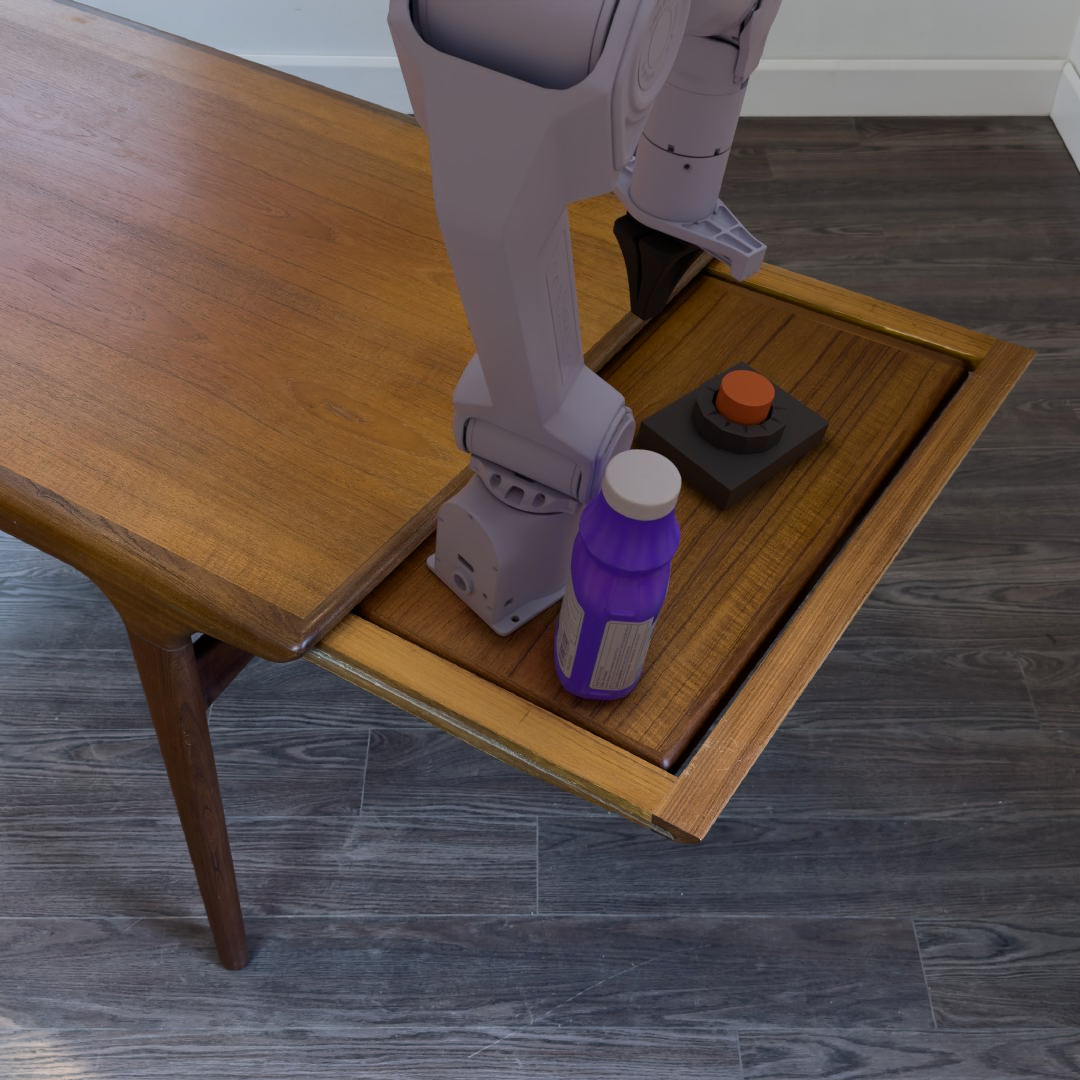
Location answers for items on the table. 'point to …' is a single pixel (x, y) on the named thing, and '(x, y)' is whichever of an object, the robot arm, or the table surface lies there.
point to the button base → (730, 440)
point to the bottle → (618, 576)
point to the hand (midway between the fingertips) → (646, 311)
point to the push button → (745, 397)
